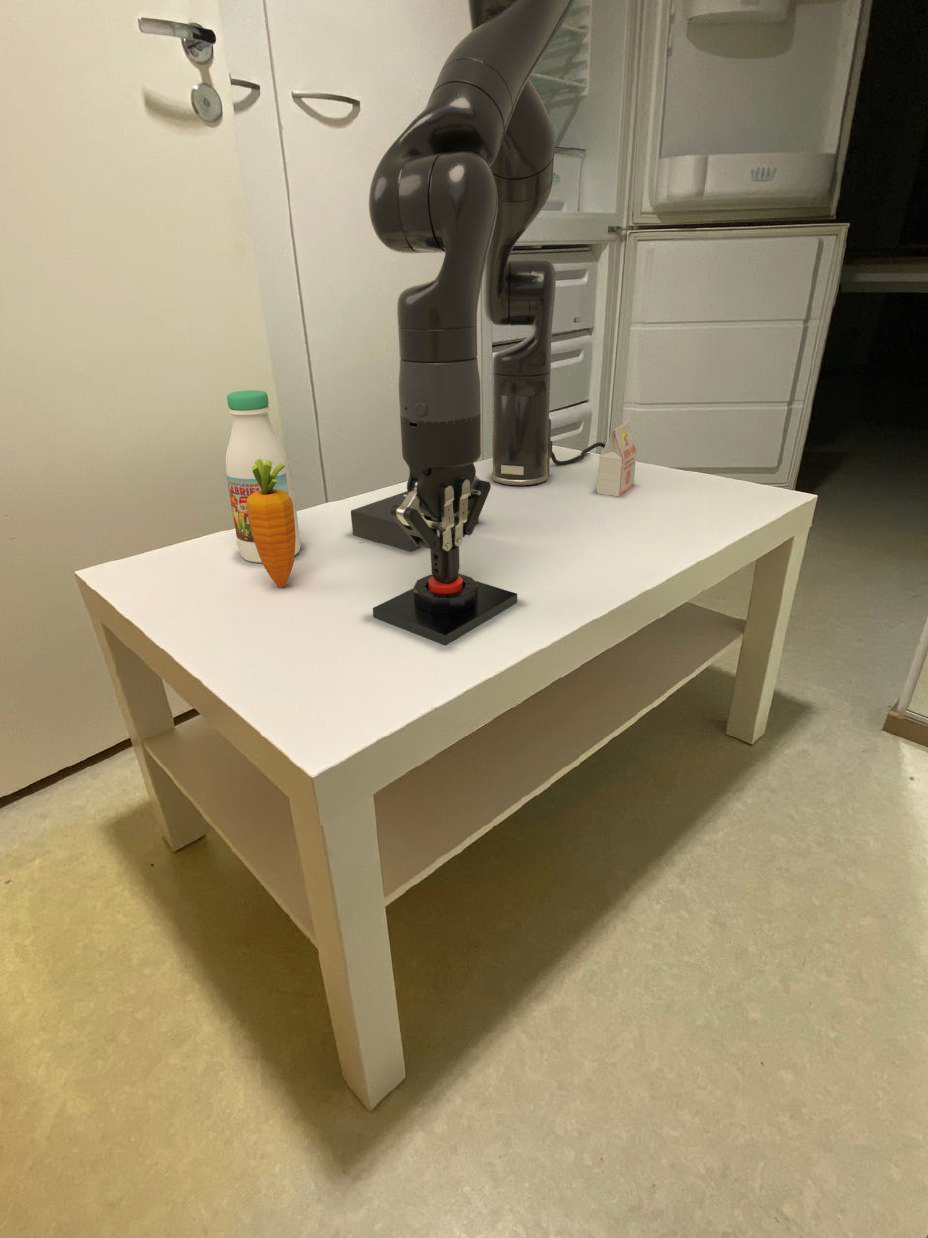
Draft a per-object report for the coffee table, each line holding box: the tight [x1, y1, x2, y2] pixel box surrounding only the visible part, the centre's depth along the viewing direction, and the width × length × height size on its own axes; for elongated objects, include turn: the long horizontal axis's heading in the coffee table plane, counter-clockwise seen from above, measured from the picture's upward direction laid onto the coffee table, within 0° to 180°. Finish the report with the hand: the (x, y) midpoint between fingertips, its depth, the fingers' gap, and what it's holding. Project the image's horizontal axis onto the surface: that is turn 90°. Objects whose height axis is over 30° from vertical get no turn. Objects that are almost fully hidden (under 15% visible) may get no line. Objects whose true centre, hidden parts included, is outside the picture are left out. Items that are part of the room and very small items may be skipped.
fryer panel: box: [350, 490, 480, 553], centre depth 97 cm, size 14×11×4 cm
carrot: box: [246, 459, 296, 589], centre depth 77 cm, size 5×5×15 cm
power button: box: [428, 576, 463, 594], centre depth 74 cm, size 4×4×2 cm
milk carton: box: [596, 422, 638, 497], centre depth 111 cm, size 4×7×10 cm, turn 149°
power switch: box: [372, 573, 518, 646], centre depth 74 cm, size 12×10×3 cm
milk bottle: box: [225, 389, 301, 564], centre depth 86 cm, size 8×8×20 cm
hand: (445, 580), depth 73 cm, fingers closed
